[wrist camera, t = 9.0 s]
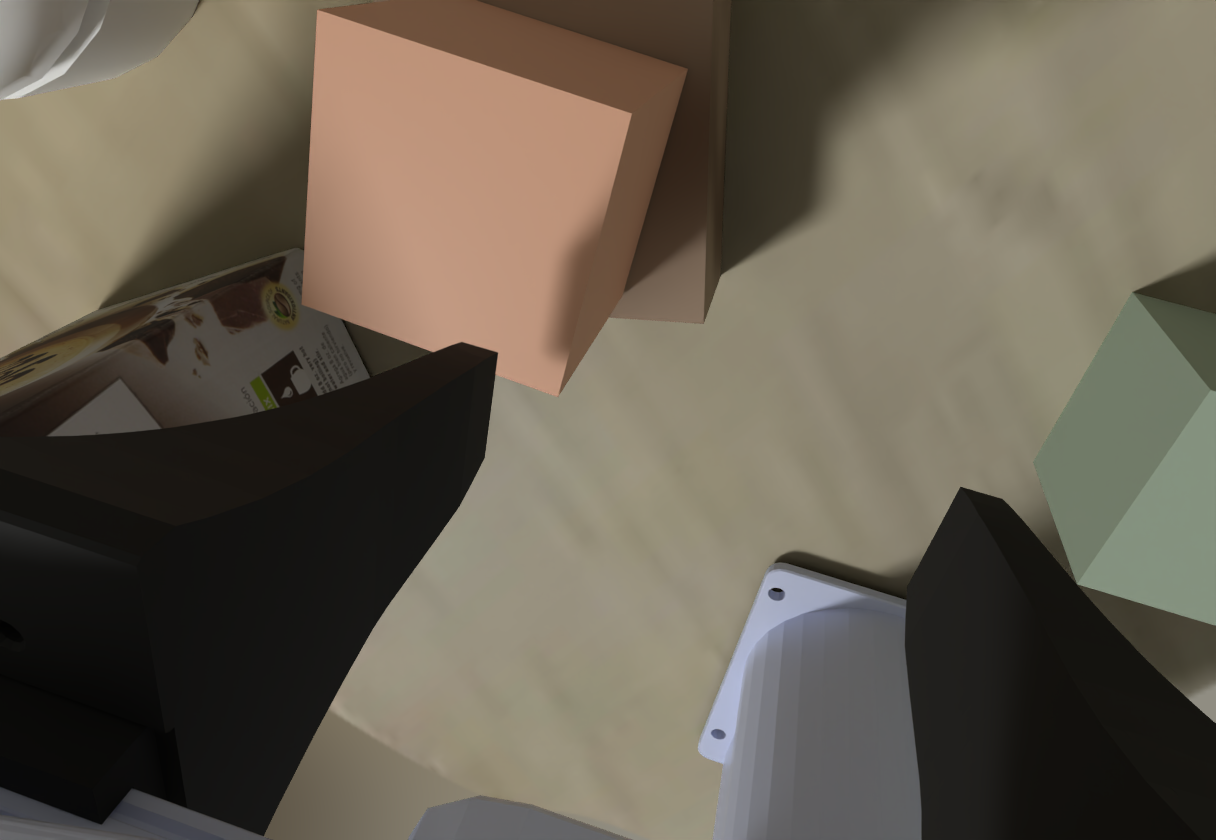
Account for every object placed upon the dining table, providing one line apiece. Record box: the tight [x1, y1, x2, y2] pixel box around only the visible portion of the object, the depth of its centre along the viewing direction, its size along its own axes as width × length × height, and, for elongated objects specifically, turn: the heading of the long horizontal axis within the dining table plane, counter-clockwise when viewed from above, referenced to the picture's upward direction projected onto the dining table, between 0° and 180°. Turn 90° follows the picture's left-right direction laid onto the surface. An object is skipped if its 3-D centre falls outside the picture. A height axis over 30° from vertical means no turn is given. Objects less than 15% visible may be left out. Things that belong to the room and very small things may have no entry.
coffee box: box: [0, 248, 370, 437], centre depth 20 cm, size 9×6×16 cm
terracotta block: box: [301, 0, 688, 397], centre depth 16 cm, size 5×5×5 cm
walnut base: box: [373, 0, 731, 324], centre depth 19 cm, size 7×7×4 cm
